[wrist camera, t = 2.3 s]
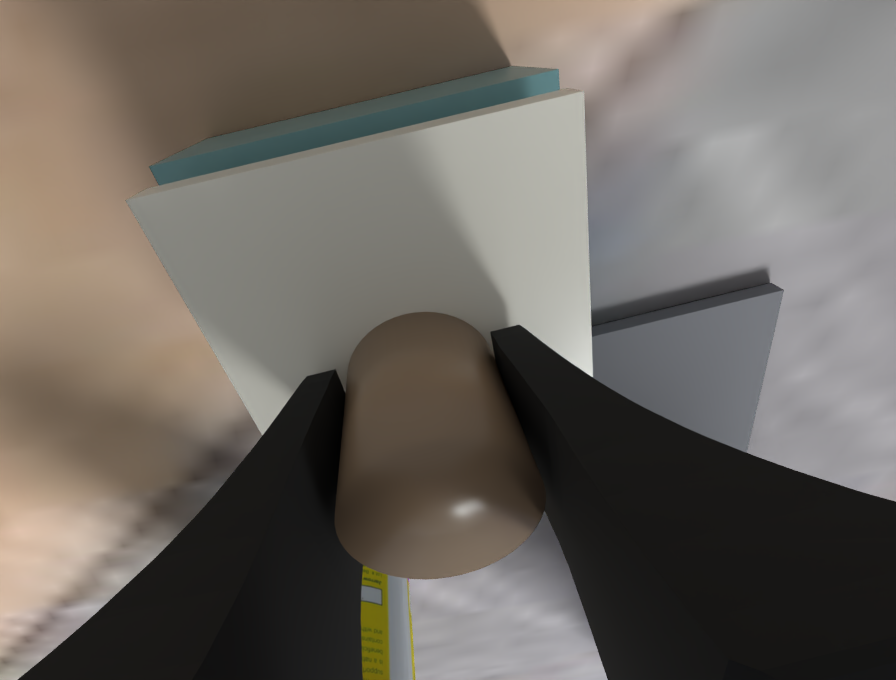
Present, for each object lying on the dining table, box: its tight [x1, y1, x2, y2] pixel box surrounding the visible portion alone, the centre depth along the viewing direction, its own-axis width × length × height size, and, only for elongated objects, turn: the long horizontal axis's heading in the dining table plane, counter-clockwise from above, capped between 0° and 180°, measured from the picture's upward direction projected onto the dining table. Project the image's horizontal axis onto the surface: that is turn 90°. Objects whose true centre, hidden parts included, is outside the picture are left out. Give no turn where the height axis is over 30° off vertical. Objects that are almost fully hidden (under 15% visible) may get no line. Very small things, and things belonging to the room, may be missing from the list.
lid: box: [126, 88, 593, 579], centre depth 9 cm, size 10×8×5 cm
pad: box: [591, 283, 784, 453], centre depth 19 cm, size 10×8×1 cm
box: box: [149, 66, 560, 185], centre depth 13 cm, size 10×8×4 cm
